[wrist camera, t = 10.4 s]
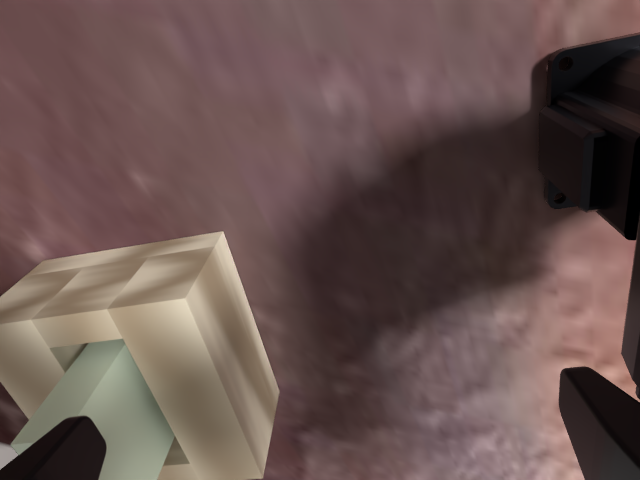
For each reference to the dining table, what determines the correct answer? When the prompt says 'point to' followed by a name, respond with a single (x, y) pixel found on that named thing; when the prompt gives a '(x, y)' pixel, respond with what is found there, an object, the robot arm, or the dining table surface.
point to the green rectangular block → (108, 412)
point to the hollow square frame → (153, 345)
